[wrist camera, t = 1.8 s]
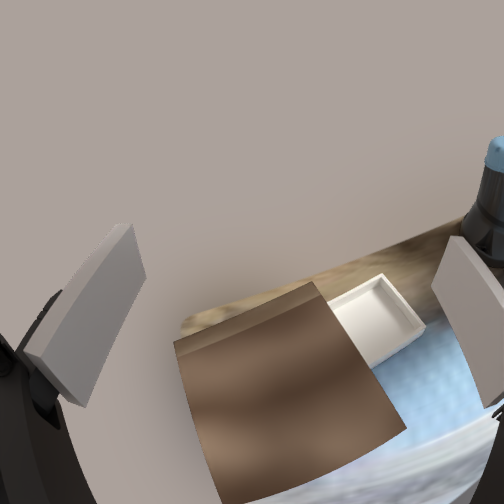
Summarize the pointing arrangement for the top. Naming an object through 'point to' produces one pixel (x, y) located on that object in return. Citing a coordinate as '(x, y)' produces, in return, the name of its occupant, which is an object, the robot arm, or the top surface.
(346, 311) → the tray
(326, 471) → the dock
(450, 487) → the top surface
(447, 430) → the top surface
